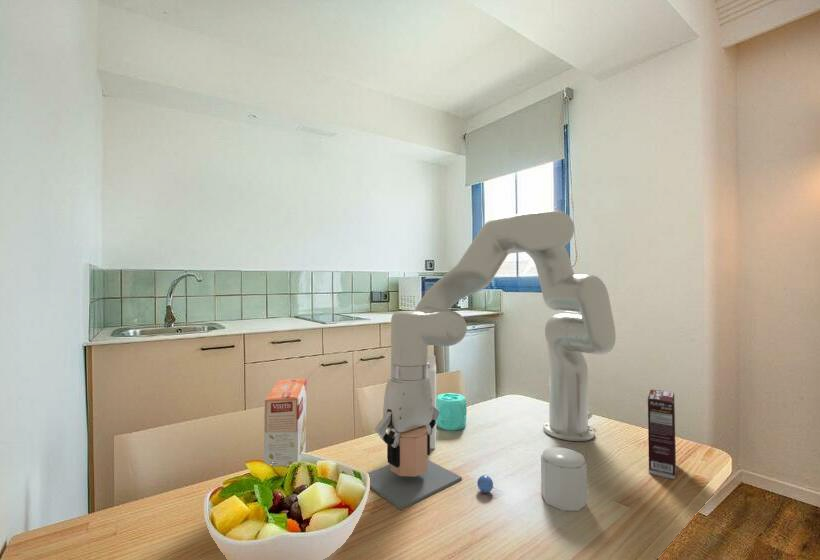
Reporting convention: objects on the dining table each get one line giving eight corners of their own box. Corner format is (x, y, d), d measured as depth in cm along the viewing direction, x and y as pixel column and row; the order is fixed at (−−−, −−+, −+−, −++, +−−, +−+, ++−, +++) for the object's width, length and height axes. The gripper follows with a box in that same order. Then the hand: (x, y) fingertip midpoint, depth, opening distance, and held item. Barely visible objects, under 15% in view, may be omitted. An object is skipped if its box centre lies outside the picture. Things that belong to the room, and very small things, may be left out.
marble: (484, 485, 76) (483, 470, 76) (496, 492, 74) (496, 476, 74) (474, 491, 74) (474, 475, 74) (486, 497, 72) (486, 481, 72)
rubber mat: (416, 455, 89) (416, 453, 89) (461, 479, 78) (461, 477, 78) (357, 479, 79) (357, 476, 79) (400, 509, 68) (400, 507, 68)
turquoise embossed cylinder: (466, 421, 111) (466, 393, 111) (463, 432, 103) (463, 402, 103) (439, 419, 113) (439, 392, 113) (434, 429, 105) (434, 400, 105)
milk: (435, 449, 93) (435, 357, 92) (410, 448, 93) (410, 357, 93) (436, 439, 99) (436, 353, 99) (413, 437, 99) (413, 352, 99)
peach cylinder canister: (411, 456, 83) (411, 419, 84) (434, 468, 78) (434, 428, 78) (384, 466, 79) (384, 427, 79) (407, 480, 73) (407, 438, 73)
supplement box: (650, 458, 87) (649, 388, 88) (676, 464, 85) (675, 392, 85) (647, 473, 80) (646, 397, 81) (675, 480, 78) (675, 402, 78)
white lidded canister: (555, 484, 76) (555, 444, 76) (592, 500, 71) (592, 456, 71) (535, 497, 72) (534, 454, 72) (573, 515, 66) (572, 469, 66)
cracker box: (299, 522, 65) (299, 397, 65) (261, 525, 64) (261, 399, 64) (307, 479, 78) (307, 377, 79) (276, 482, 77) (276, 378, 78)
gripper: (427, 363, 87) (427, 441, 87) (363, 375, 76) (363, 465, 76) (452, 368, 81) (452, 452, 81) (386, 382, 70) (386, 480, 70)
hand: (409, 458), depth 78 cm, fingers closed on peach cylinder canister, 7 cm apart
